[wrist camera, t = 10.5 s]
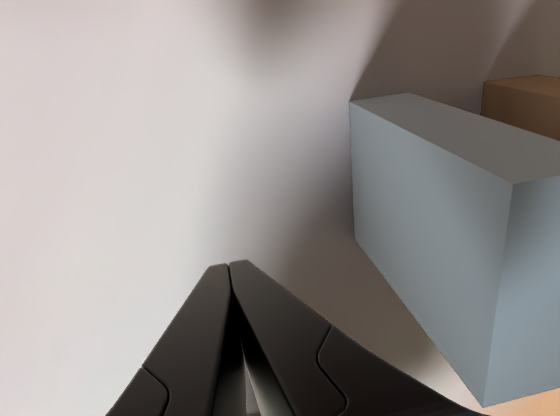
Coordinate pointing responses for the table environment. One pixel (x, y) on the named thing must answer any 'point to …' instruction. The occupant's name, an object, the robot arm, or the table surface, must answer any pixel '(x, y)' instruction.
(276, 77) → the table surface
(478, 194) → the domino
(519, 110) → the domino
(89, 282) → the table surface
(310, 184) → the table surface
